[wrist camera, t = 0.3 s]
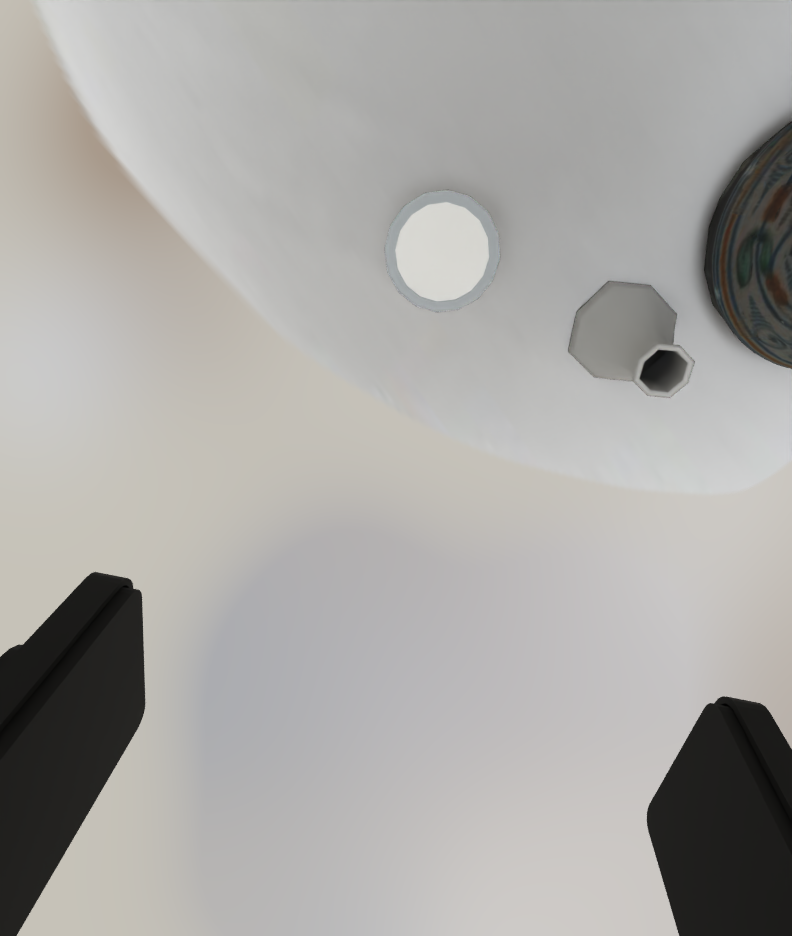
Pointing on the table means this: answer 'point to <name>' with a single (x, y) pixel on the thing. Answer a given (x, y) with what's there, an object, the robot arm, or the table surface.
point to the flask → (631, 339)
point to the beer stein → (756, 251)
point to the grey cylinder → (442, 251)
